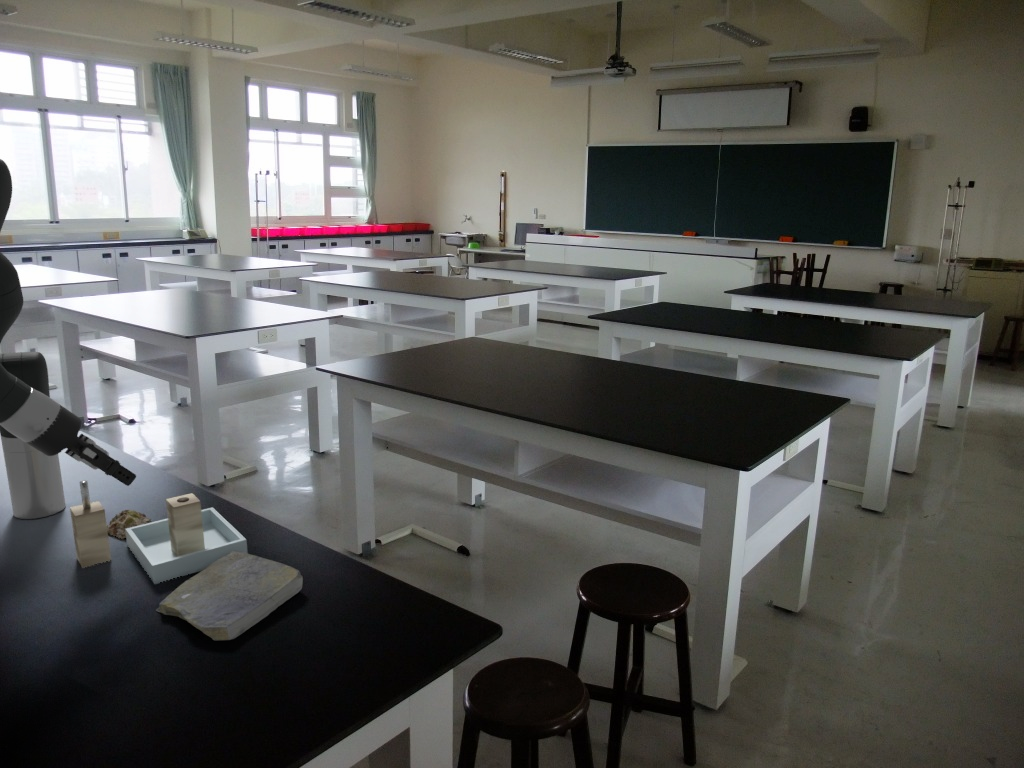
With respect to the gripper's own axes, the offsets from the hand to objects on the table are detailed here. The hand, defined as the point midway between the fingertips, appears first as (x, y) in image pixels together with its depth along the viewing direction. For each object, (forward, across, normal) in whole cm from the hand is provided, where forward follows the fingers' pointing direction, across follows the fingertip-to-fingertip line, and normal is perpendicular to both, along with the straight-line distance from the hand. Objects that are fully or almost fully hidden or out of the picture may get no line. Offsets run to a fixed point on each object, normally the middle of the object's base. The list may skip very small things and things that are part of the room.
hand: (123, 475), depth 130 cm
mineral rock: (+16, +16, +8) cm, 24 cm away
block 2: (+18, -1, +5) cm, 19 cm away
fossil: (+18, -22, +8) cm, 30 cm away
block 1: (+10, +8, +14) cm, 19 cm away
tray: (+19, 0, +5) cm, 19 cm away
